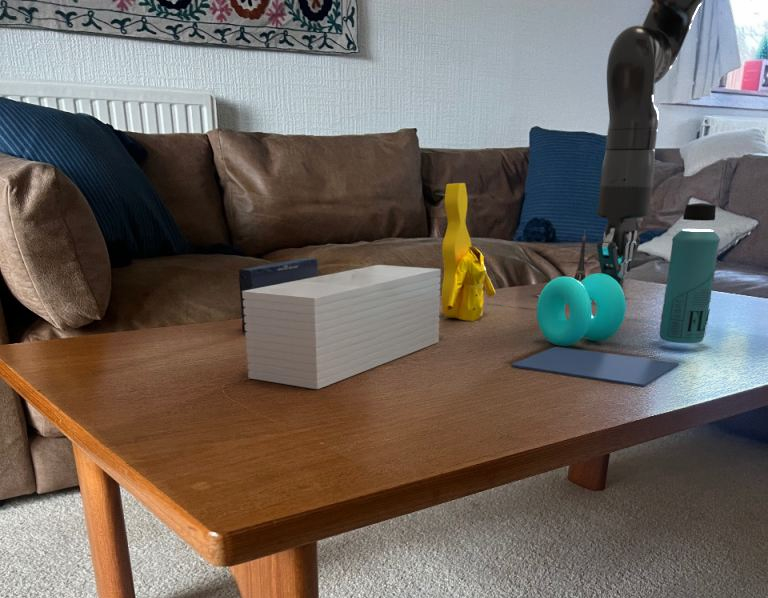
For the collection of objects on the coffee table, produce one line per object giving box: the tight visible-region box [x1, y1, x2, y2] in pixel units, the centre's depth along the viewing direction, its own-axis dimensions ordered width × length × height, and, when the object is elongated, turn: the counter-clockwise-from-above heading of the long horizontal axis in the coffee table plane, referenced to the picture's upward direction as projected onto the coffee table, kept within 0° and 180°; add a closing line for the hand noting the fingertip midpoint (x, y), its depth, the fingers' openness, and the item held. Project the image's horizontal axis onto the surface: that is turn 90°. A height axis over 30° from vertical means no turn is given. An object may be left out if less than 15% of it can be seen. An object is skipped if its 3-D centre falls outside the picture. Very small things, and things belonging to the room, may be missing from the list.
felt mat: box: [510, 346, 680, 388], centre depth 105 cm, size 18×14×1 cm
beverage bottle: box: [659, 202, 721, 344], centre depth 111 cm, size 6×7×20 cm
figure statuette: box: [441, 182, 497, 322], centre depth 134 cm, size 18×8×22 cm, turn 148°
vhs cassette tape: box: [238, 257, 319, 334], centre depth 130 cm, size 18×3×10 cm, turn 148°
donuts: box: [536, 272, 627, 347], centre depth 117 cm, size 10×10×10 cm
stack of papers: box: [242, 264, 442, 390], centre depth 107 cm, size 32×11×11 cm, turn 149°
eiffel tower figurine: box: [536, 231, 587, 297], centre depth 154 cm, size 15×10×13 cm
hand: (612, 301), depth 124 cm, fingers closed
